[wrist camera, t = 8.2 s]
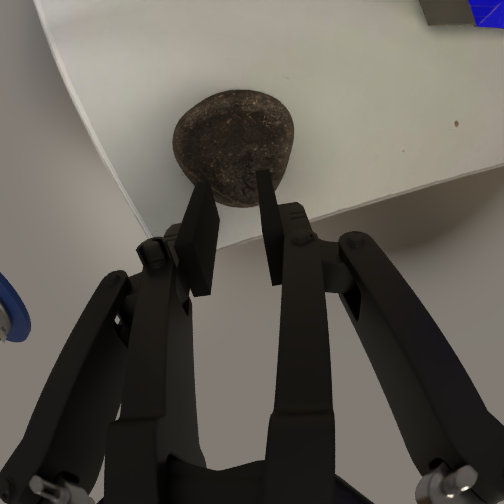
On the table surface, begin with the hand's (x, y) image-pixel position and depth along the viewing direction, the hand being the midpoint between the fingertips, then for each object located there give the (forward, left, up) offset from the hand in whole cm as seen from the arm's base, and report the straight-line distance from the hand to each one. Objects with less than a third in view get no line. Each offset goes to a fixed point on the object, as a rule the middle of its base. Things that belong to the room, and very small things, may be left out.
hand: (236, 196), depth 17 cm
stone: (0, 0, -13) cm, 13 cm away
